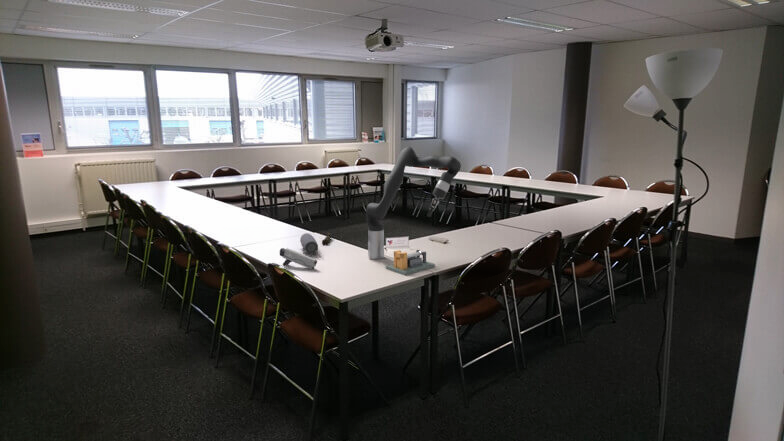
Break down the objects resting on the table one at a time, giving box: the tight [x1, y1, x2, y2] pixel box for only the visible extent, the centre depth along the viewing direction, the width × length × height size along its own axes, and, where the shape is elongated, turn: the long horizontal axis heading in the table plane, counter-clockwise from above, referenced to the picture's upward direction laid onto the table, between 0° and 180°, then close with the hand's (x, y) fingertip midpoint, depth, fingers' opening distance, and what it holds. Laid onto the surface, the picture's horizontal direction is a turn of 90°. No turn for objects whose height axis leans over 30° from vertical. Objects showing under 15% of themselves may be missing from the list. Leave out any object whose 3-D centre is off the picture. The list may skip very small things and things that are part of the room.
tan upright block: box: [393, 249, 408, 270], centre depth 254 cm, size 4×7×9 cm, turn 41°
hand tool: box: [321, 232, 332, 246], centre depth 319 cm, size 19×4×5 cm, turn 174°
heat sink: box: [407, 256, 423, 268], centre depth 260 cm, size 9×9×4 cm
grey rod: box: [399, 250, 424, 259], centre depth 259 cm, size 2×3×17 cm
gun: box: [279, 247, 318, 270], centre depth 263 cm, size 2×25×10 cm, turn 65°
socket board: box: [385, 249, 436, 276], centre depth 259 cm, size 23×16×8 cm
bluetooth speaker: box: [299, 233, 319, 255], centre depth 294 cm, size 23×9×10 cm, turn 18°
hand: (428, 216), depth 271 cm, fingers closed
